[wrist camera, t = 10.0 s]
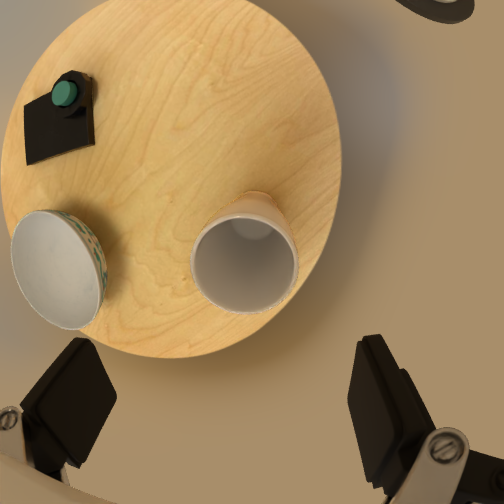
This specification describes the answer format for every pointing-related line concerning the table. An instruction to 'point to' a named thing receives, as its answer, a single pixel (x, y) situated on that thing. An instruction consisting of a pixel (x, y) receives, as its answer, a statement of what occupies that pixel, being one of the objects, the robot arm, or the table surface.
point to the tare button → (64, 93)
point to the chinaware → (59, 267)
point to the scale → (59, 122)
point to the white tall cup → (246, 256)
